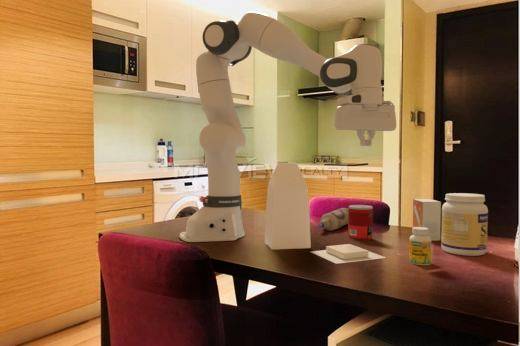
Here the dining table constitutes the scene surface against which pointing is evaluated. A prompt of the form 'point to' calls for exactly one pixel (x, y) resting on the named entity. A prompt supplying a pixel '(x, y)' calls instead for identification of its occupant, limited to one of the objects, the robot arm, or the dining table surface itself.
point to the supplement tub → (464, 224)
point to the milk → (287, 209)
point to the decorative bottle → (334, 219)
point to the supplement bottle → (420, 246)
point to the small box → (427, 216)
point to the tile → (347, 251)
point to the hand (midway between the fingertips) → (365, 145)
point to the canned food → (360, 222)
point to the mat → (339, 260)
